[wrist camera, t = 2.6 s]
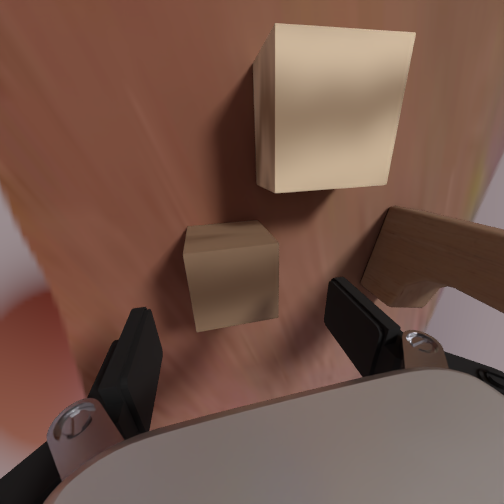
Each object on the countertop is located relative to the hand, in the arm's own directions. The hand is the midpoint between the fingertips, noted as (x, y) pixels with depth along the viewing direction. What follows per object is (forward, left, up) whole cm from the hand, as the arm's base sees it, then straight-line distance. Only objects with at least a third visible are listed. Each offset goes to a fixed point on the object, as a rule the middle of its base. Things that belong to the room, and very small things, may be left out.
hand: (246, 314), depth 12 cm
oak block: (+9, -7, -9) cm, 15 cm away
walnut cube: (-1, 0, -10) cm, 9 cm away
